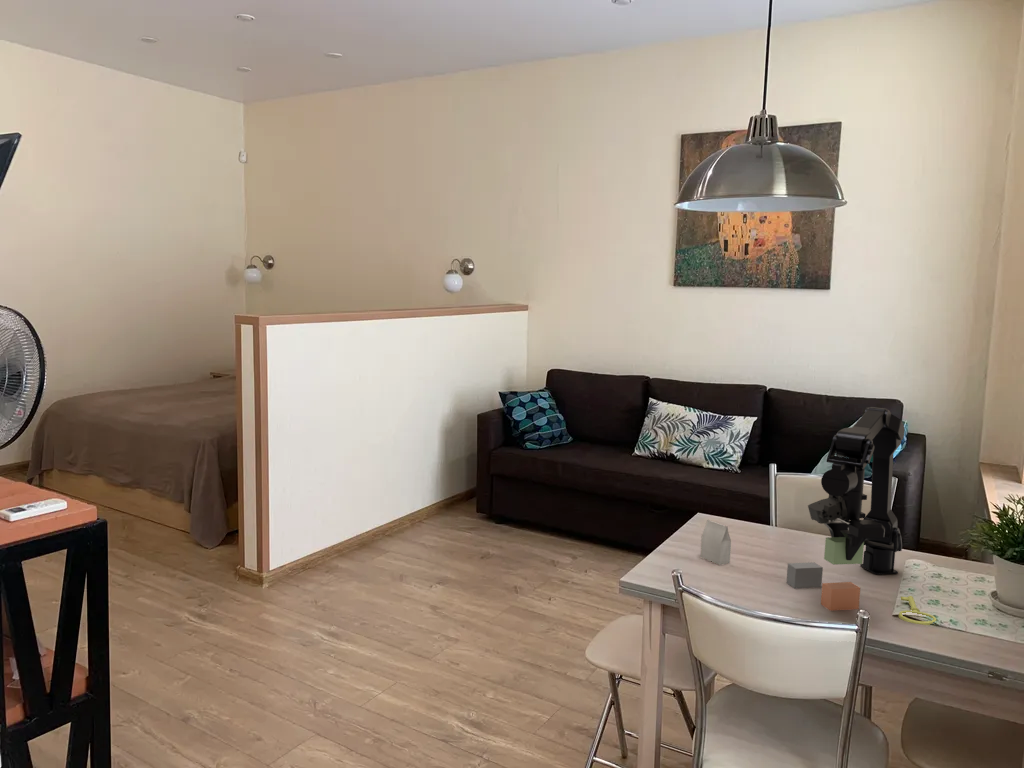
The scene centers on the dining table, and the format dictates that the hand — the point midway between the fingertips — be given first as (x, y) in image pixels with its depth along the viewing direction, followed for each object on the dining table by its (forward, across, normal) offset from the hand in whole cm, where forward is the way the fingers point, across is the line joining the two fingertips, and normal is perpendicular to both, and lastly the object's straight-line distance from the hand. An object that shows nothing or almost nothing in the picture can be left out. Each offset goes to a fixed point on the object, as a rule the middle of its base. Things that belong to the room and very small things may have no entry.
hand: (843, 557), depth 171 cm
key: (+12, +6, +14) cm, 20 cm away
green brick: (+1, 0, 0) cm, 1 cm away
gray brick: (+11, -13, -1) cm, 17 cm away
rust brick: (+12, 0, 0) cm, 12 cm away
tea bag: (+12, -32, -15) cm, 37 cm away
